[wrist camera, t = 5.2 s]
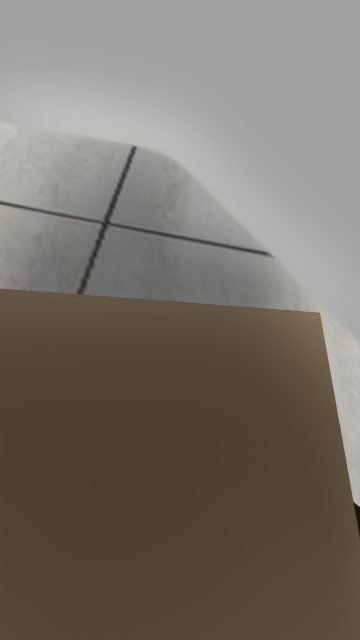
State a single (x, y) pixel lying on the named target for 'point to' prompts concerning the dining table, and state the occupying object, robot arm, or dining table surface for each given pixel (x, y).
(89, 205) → the dining table surface
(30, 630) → the oak block
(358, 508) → the robot arm
